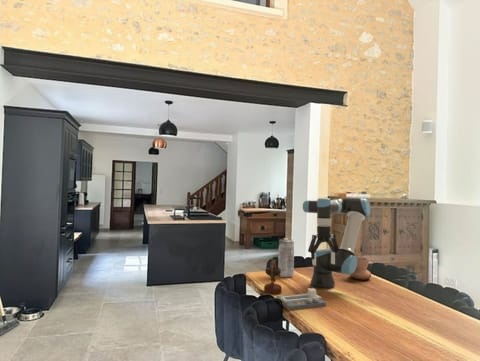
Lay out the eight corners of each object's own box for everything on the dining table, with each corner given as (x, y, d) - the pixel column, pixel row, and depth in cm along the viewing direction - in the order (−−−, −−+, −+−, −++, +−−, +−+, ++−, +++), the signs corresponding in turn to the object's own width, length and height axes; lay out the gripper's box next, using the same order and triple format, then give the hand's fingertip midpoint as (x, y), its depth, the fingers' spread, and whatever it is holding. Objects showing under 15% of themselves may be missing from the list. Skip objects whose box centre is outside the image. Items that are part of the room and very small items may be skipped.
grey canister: (294, 277, 221) (294, 239, 221) (279, 277, 221) (279, 239, 222) (292, 274, 230) (292, 237, 230) (277, 274, 230) (278, 237, 230)
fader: (312, 296, 176) (312, 287, 176) (316, 298, 173) (316, 289, 173) (307, 296, 175) (307, 288, 175) (311, 298, 172) (311, 290, 172)
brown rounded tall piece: (283, 295, 183) (281, 261, 183) (264, 297, 183) (262, 262, 184) (280, 287, 198) (278, 255, 199) (263, 288, 198) (261, 256, 199)
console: (310, 296, 183) (310, 290, 183) (326, 306, 167) (326, 299, 168) (276, 299, 176) (276, 293, 176) (289, 310, 161) (289, 303, 161)
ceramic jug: (364, 275, 231) (364, 255, 231) (377, 280, 217) (376, 259, 217) (342, 276, 227) (342, 257, 227) (354, 282, 212) (353, 261, 213)
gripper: (337, 224, 184) (337, 261, 184) (301, 225, 177) (301, 264, 177) (345, 225, 177) (345, 264, 177) (308, 226, 170) (308, 267, 170)
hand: (323, 264), depth 177 cm, fingers open, 11 cm apart
